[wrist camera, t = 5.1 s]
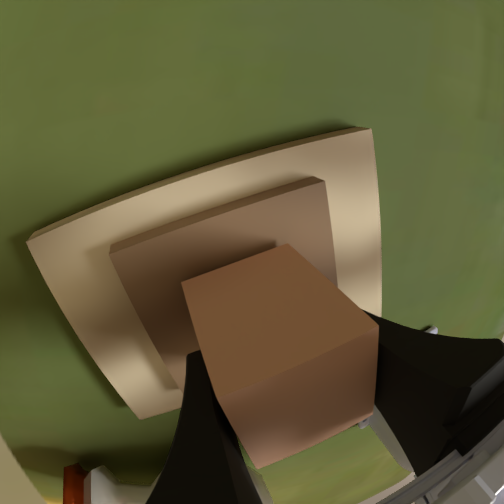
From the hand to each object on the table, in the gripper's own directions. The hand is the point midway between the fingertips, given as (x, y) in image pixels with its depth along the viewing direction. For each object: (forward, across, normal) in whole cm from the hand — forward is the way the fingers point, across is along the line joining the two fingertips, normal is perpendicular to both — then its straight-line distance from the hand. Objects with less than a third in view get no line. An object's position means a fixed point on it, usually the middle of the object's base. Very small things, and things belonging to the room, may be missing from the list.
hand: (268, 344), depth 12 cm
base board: (+5, 0, 0) cm, 5 cm away
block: (+2, 0, 0) cm, 2 cm away
